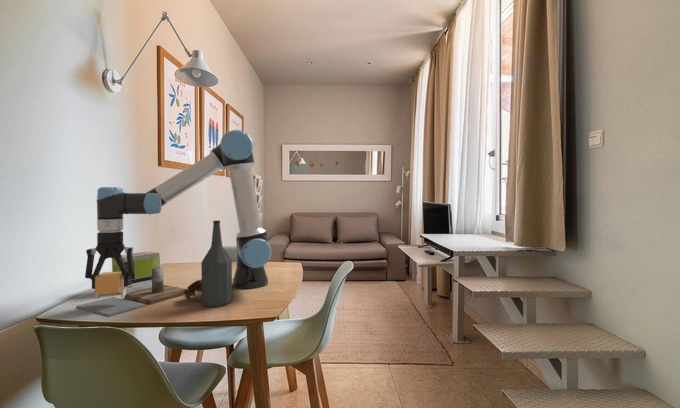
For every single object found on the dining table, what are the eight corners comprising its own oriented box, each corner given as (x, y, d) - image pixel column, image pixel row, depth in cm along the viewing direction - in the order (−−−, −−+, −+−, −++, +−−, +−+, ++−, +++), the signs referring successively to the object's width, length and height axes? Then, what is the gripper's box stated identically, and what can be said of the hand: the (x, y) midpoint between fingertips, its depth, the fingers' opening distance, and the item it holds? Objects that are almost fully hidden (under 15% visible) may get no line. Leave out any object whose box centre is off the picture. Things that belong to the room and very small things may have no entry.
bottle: (221, 308, 116) (221, 221, 116) (196, 306, 118) (195, 221, 118) (236, 299, 126) (236, 219, 126) (213, 298, 128) (212, 219, 128)
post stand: (189, 293, 135) (189, 267, 135) (151, 304, 121) (150, 275, 121) (163, 288, 143) (163, 263, 142) (124, 298, 128) (124, 270, 128)
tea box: (149, 283, 152) (149, 250, 151) (161, 286, 146) (160, 252, 146) (111, 290, 139) (111, 254, 139) (122, 294, 134) (121, 257, 133)
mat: (145, 306, 119) (145, 304, 119) (109, 316, 109) (109, 314, 109) (112, 298, 128) (112, 296, 128) (76, 307, 118) (76, 305, 118)
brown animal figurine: (211, 304, 123) (198, 286, 121) (189, 314, 124) (176, 296, 122) (222, 287, 135) (210, 270, 133) (202, 297, 136) (190, 280, 134)
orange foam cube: (125, 287, 123) (125, 271, 123) (119, 292, 116) (119, 275, 116) (102, 289, 121) (102, 272, 120) (95, 294, 114) (95, 276, 114)
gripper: (71, 233, 111) (72, 302, 112) (140, 231, 117) (140, 297, 118) (81, 231, 118) (81, 296, 119) (145, 229, 125) (145, 291, 125)
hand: (110, 296), depth 118 cm, fingers closed on orange foam cube, 7 cm apart
